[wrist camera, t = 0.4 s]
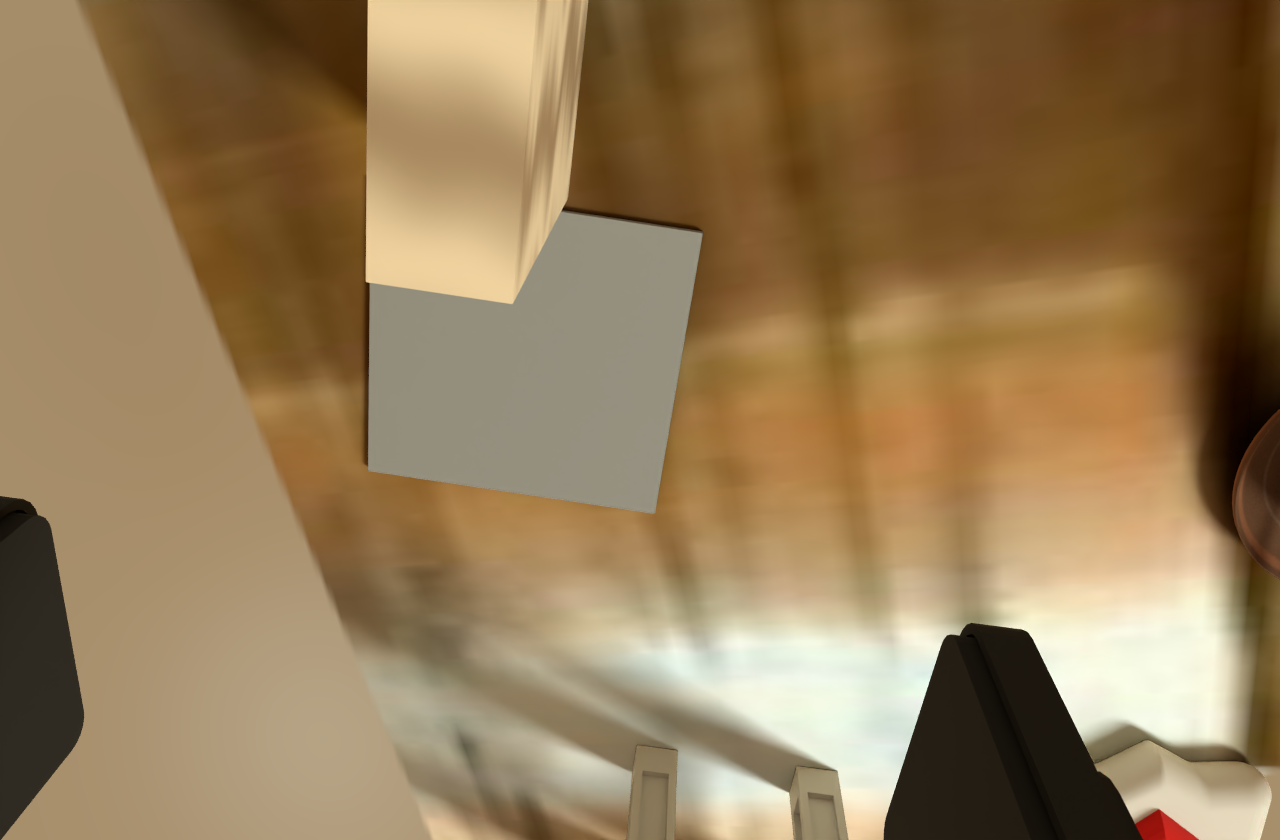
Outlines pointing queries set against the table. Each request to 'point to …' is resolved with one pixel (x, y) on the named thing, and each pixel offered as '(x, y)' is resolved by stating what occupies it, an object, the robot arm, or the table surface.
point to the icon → (1188, 795)
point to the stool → (655, 799)
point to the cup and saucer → (1260, 497)
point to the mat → (540, 369)
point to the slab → (468, 139)
